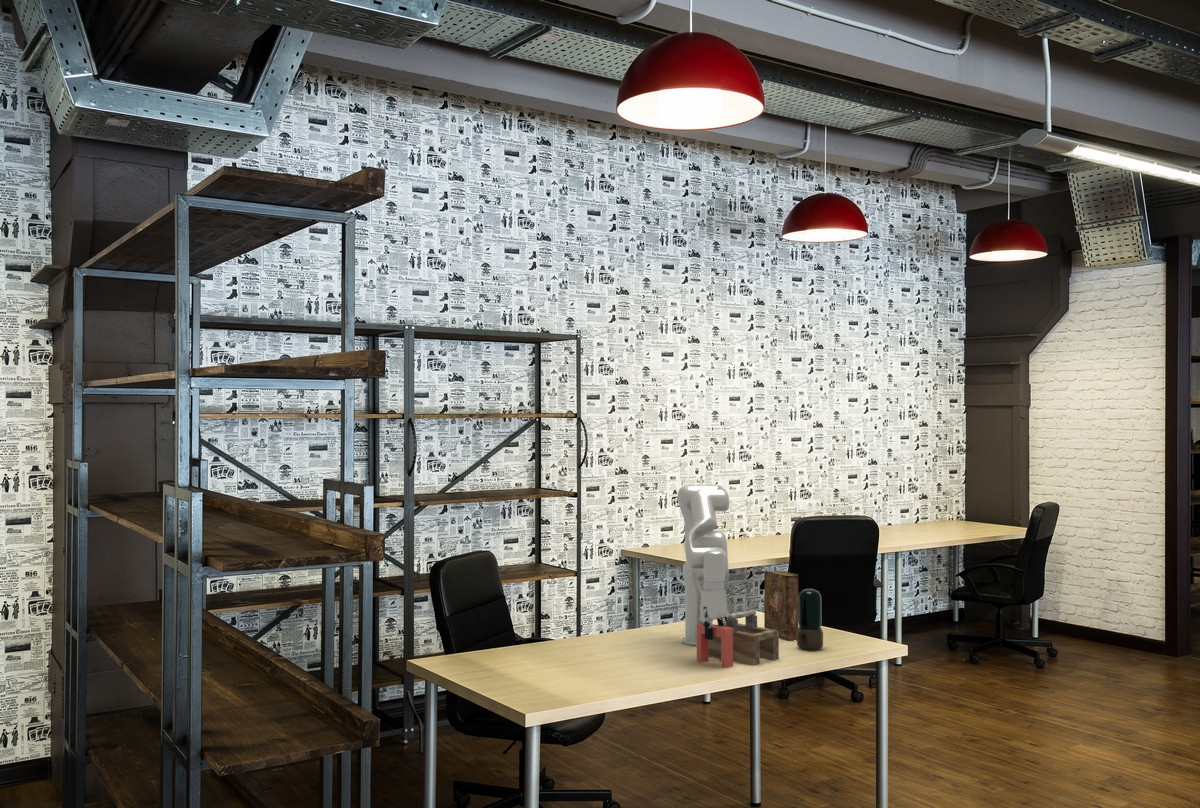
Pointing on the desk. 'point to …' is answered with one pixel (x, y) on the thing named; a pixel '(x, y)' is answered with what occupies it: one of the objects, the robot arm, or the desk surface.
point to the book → (781, 603)
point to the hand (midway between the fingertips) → (714, 637)
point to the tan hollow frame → (748, 640)
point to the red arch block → (726, 644)
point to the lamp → (809, 620)
